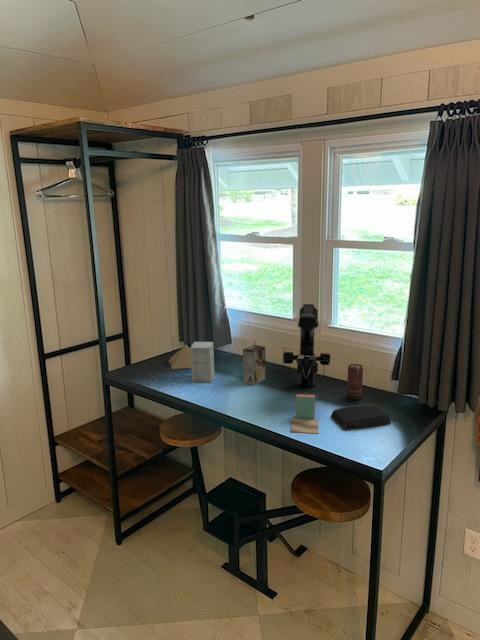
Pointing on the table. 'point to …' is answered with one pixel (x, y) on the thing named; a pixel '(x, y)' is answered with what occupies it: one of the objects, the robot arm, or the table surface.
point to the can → (354, 381)
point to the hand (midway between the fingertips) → (306, 377)
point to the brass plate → (304, 425)
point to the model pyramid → (181, 358)
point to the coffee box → (254, 364)
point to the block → (305, 406)
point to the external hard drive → (360, 417)
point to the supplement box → (202, 361)
